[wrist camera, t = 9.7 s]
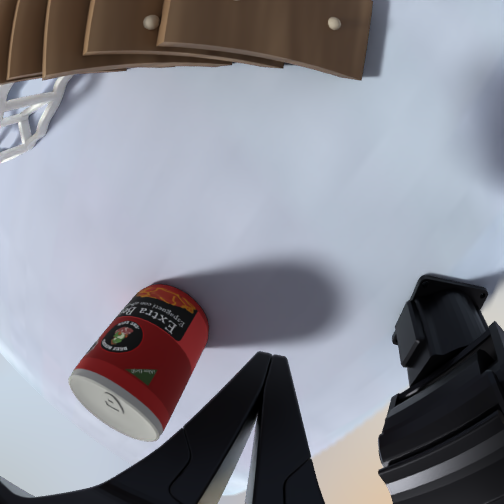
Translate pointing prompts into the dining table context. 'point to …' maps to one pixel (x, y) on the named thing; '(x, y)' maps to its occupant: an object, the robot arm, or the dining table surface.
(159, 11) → the tile
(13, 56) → the tile
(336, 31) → the tile
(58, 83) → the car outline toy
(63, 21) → the tile
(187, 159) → the dining table surface
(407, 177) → the dining table surface
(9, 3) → the tile
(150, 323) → the canned food
